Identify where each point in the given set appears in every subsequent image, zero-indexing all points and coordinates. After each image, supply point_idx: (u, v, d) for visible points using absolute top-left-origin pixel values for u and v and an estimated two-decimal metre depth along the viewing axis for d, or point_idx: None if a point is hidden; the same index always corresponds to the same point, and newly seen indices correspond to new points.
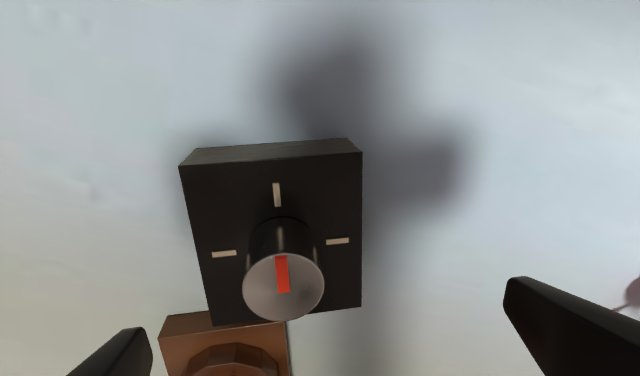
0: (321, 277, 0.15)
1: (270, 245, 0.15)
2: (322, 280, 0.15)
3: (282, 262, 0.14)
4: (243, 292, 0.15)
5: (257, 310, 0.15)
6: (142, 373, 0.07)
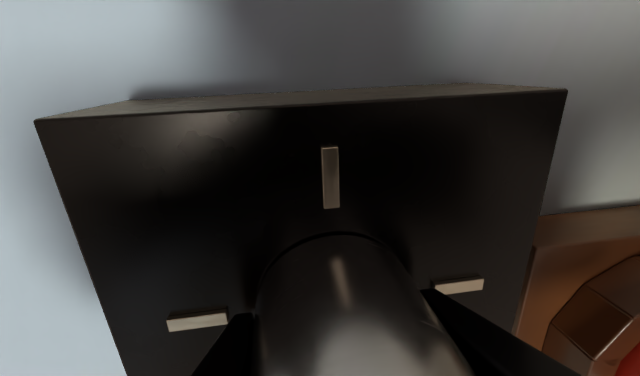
0: None
1: None
2: None
3: None
4: None
5: None
6: None
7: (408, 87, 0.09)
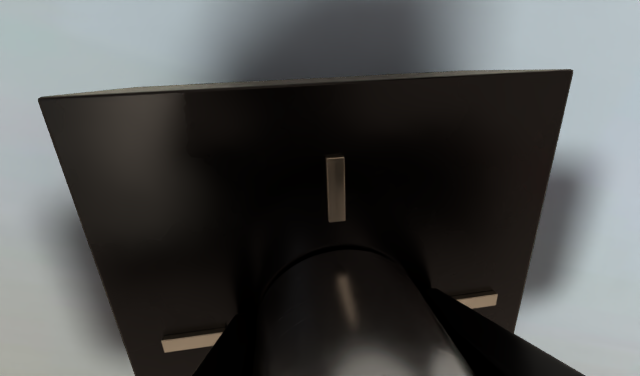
0: None
1: None
2: None
3: None
4: None
5: None
6: None
7: None
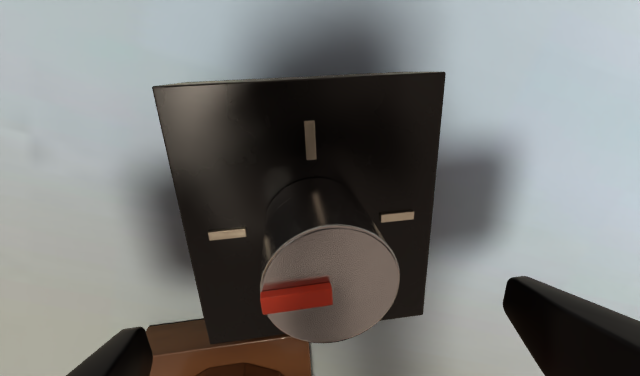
0: (312, 232, 0.08)
1: None
2: (319, 230, 0.08)
3: (269, 303, 0.08)
4: (331, 341, 0.09)
5: (368, 322, 0.09)
6: (142, 373, 0.07)
7: None
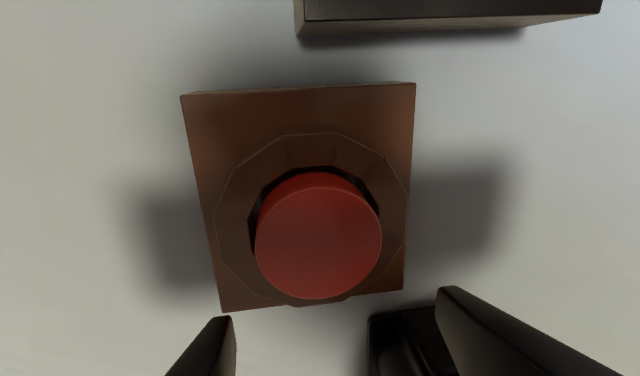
0: None
1: None
2: None
3: None
4: None
5: None
6: (232, 360, 0.07)
7: None
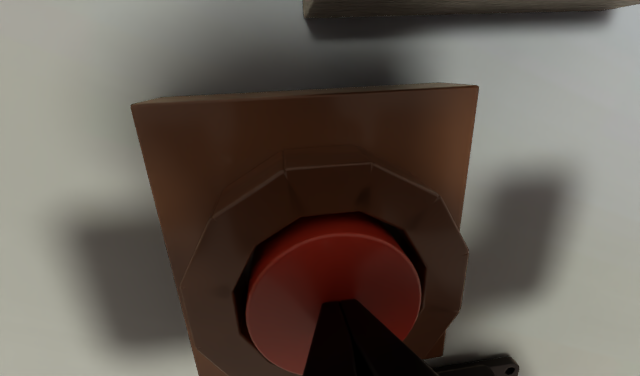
0: None
1: None
2: None
3: None
4: None
5: None
6: None
7: None
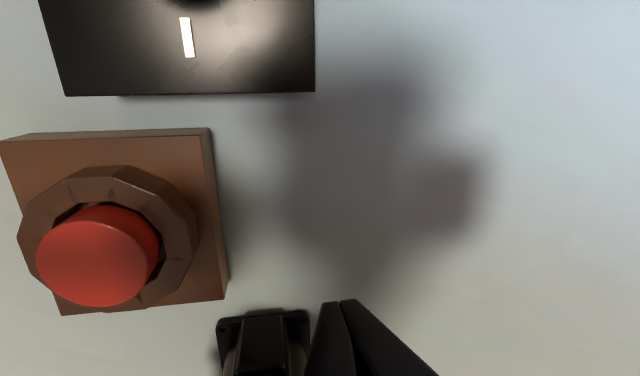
0: None
1: None
2: None
3: None
4: None
5: None
6: None
7: None
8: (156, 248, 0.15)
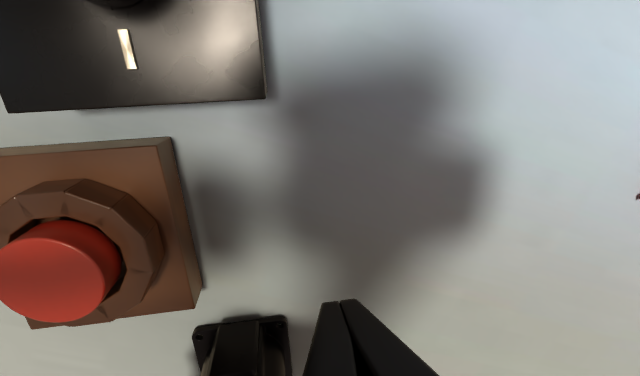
0: None
1: None
2: None
3: None
4: None
5: None
6: None
7: None
8: (115, 261, 0.15)
